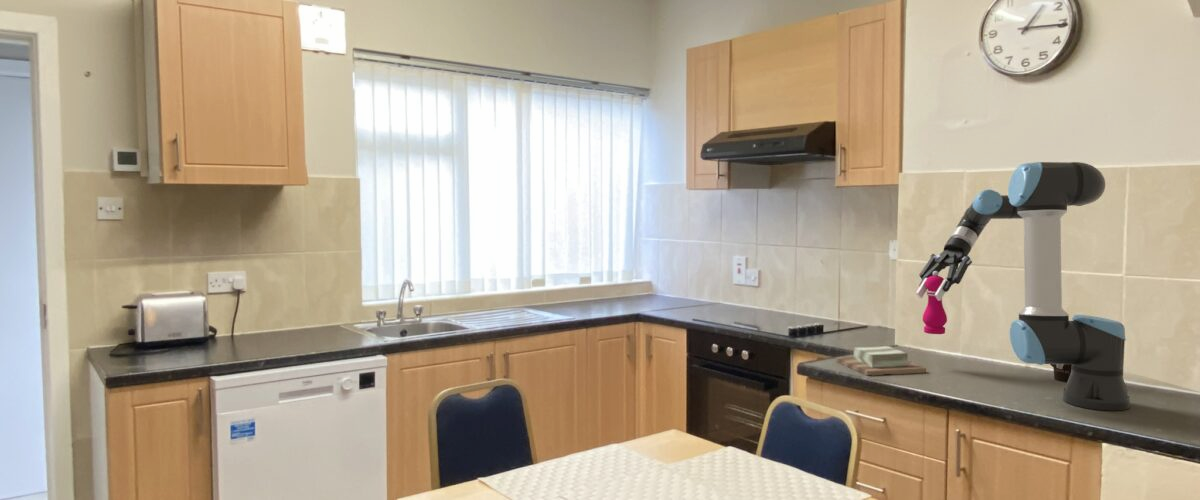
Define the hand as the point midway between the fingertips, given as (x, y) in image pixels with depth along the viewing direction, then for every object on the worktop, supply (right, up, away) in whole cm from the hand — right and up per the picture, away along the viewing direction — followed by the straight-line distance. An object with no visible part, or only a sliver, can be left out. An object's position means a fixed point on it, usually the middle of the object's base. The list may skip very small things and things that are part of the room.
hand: (928, 296), depth 242 cm
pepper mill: (+3, -12, +3) cm, 13 cm away
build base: (-13, -23, +5) cm, 27 cm away
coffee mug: (+36, -24, -12) cm, 45 cm away
